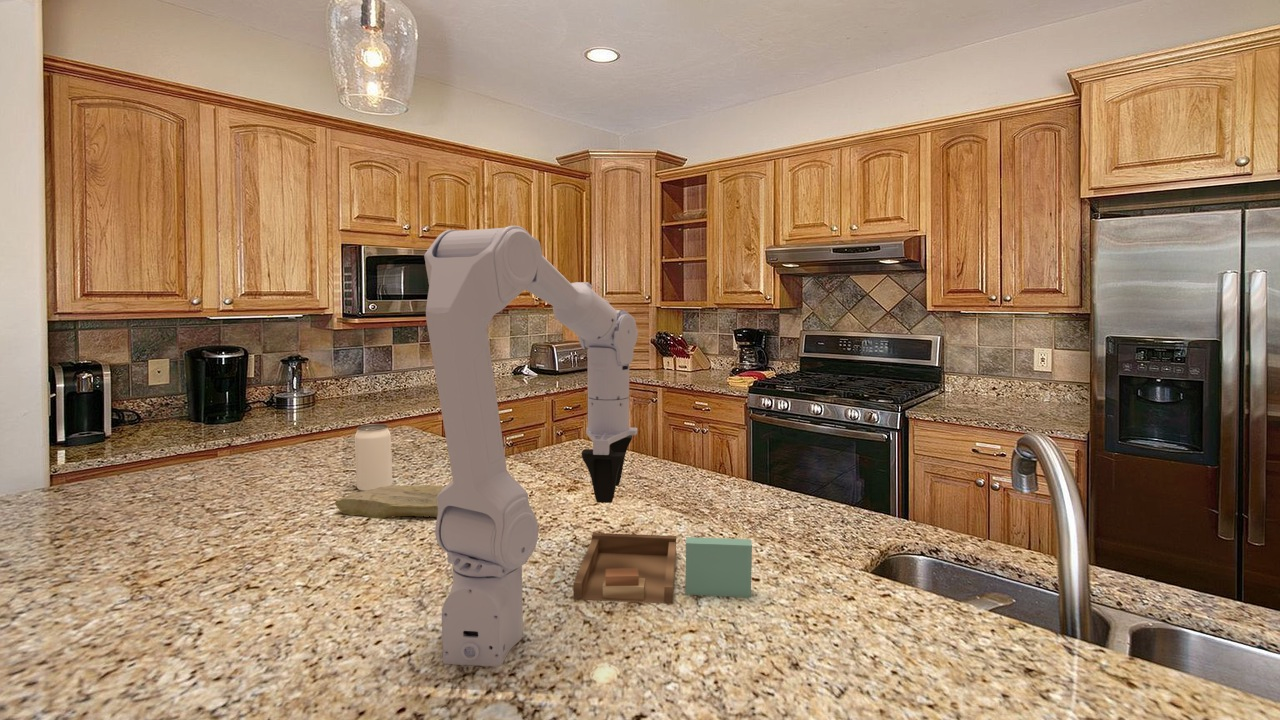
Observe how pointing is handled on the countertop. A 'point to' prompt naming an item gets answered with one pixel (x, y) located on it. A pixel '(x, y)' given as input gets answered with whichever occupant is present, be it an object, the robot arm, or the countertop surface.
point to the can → (373, 457)
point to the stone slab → (392, 501)
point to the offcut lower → (625, 591)
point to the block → (718, 567)
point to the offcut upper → (622, 577)
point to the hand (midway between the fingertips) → (608, 493)
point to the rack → (628, 565)
